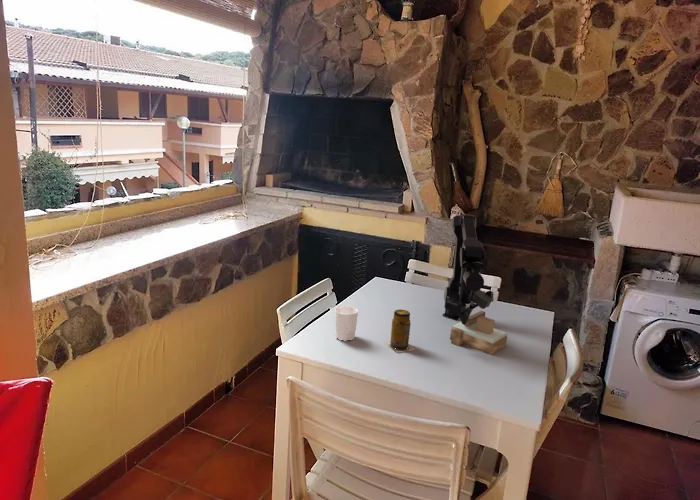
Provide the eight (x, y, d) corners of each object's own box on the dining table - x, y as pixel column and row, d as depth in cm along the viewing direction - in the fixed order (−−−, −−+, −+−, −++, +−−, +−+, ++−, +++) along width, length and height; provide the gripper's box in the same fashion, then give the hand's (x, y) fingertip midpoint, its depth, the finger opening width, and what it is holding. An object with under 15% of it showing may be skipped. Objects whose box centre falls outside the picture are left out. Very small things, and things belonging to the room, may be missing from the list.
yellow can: (402, 339, 178) (405, 307, 175) (416, 350, 171) (419, 316, 168) (384, 342, 175) (387, 309, 172) (397, 353, 167) (400, 318, 164)
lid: (451, 328, 179) (453, 313, 178) (466, 321, 186) (467, 307, 185) (492, 343, 169) (495, 327, 168) (506, 335, 176) (508, 320, 175)
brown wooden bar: (463, 324, 180) (463, 318, 179) (480, 316, 188) (481, 310, 188) (467, 326, 179) (468, 320, 178) (484, 317, 187) (485, 312, 187)
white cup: (359, 335, 179) (361, 308, 177) (350, 344, 172) (352, 316, 170) (339, 330, 182) (341, 304, 180) (329, 338, 175) (330, 311, 173)
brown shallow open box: (445, 341, 179) (447, 327, 177) (468, 329, 189) (469, 316, 188) (487, 357, 168) (489, 342, 167) (509, 344, 179) (510, 330, 178)
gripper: (476, 293, 162) (470, 339, 166) (504, 281, 176) (498, 324, 180) (445, 284, 170) (441, 328, 174) (475, 273, 183) (469, 314, 187)
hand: (463, 324), depth 178 cm, fingers closed
